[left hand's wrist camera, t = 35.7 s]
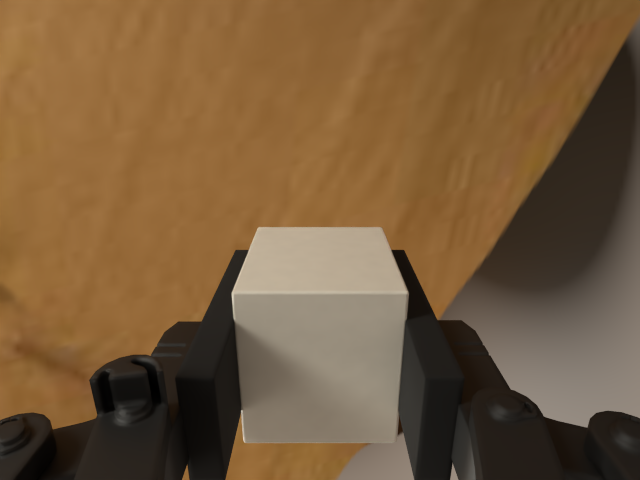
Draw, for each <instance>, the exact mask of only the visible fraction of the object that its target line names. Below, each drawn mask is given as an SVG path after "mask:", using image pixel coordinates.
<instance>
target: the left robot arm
mask: <svg viewBox="0 0 640 480" xmlns="http://www.w3.org/2000/svg"><path fill="white" fill-rule="evenodd" d="M248 251H249V250H236V251H235V253H234V255H233V257H232V259H231V261H230V263H229V265H228V267H227V270H226V272H225V274H224V276H223V278H222V280H221V282H220V284H219V286H218V288H217V291H216V293H215V295H214V297H213V299H212V301H211V303H210V305H209V307H208V310H207V312H206V314H205V316H204V318H203V320H202V322H177V323H176V324H175V325H173V326H172V327H171V328H169V329H168V330H167V331H166V332H164V334H163V336H162V337H161V339H160V341H159V342H158V344H157V347H155V349H154V351H153V352H152V354H151V356H148V355H130V356H126V357H121V358H118V359H116V360H114V361H111V362H109V363H107V364H105V365H104V366H102V367H101V368H100V369H98V370H97V371H96V372H95V373H94V374H93V376H92V377H91V379H90V380H89V381H90V385H91V389H92V394H93V398H94V402H95V407H96V411H97V417H96V419H93V420H90V421H87V422H83V423H79V424H75V425H71V426H66V427H62V428H58V429H52V426H51V422H50V420H49V419H48V418H47V417H46V416H45V415H42V414H37V413H25V414H17V415H14V416H11V417H8V418H5V419H2V420H0V480H182V478H183V475H184V472H185V469H186V466H187V465H188V471H189V478H190V480H225V479H226V474H227V470H228V466H229V461H230V457H231V453H232V448H233V444H234V440H235V436H236V431H237V427H238V423H239V418H240V414H241V399H240V387H239V375H238V362H237V350H236V337H235V325H234V317H233V305H232V291H233V289H234V286H235V284H236V281H237V279H238V276H239V274H240V271H241V269H242V266H243V264H244V261H245V259H246V256H247V254H248ZM391 251H392V253H393V256H394V258H395V260H396V263H397V265H398V268H399V270H400V273H401V275H402V278H403V280H404V282H405V285H406V287H407V290H408V292H409V298H408V311H407V319H406V322H405V334H404V347H403V359H402V371H401V384H400V396H399V409H398V411H399V415H400V420H401V424H402V428H403V433H404V437H405V441H406V445H407V450H408V454H409V458H410V463H411V467H412V471H413V476H414V480H450V476H451V469H452V462H453V465H454V468H455V471H456V473H457V476H458V479H459V480H640V418H638V417H635V416H632V415H628V414H625V413H622V412H614V411H604V412H599V413H596V414H595V415H594V416H592V417H591V418H590V421H589V424H588V428H585V427H581V426H577V425H573V424H568V423H564V422H559V421H556V420H552V419H549V418H546V417H544V416H543V414H542V413H541V411H540V409H539V408H538V406H537V405H536V404H535V403H534V402H532V401H531V400H530V399H529V398H528V397H526V396H524V395H522V394H520V393H518V392H516V391H514V390H511V389H510V388H509V386H508V384H507V383H506V381H505V379H504V378H503V376H502V374H501V373H500V371H499V369H498V368H497V366H496V364H495V363H494V361H493V360H492V358H491V356H489V353H488V351H487V350H486V348H485V346H484V345H483V343H482V341H481V340H480V338H479V336H478V335H477V333H476V331H475V330H473V329H472V328H471V327H469V326H468V325H467V324H465V323H464V322H463V321H461V320H437V319H436V317H435V314H434V312H433V310H432V308H431V306H430V304H429V302H428V300H427V298H426V295H425V293H424V291H423V289H422V287H421V285H420V283H419V281H418V279H417V277H416V274H415V272H414V270H413V268H412V266H411V264H410V262H409V260H408V258H407V255H406V253H405V251H404V250H391Z"/></svg>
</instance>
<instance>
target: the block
mask: <svg viewBox="0 0 640 480" xmlns="http://www.w3.org/2000/svg"><path fill="white" fill-rule="evenodd" d="M408 298H409V292H408V290H407V287H406V285H405V282H404V280H403V278H402V275H401V273H400V270H399V268H398V265H397V263H396V260H395V258H394V256H393V253H392V251H391V248H390V246H389V243H388V241H387V239H386V236H385V234H384V231H383V229H382V228H381V227H259V228H258V229H257V231H256V234H255V236H254V239H253V241H252V244H251V246H250V249H249V251H248V254H247V256H246V259H245V261H244V264H243V266H242V269H241V271H240V274H239V276H238V279H237V281H236V284H235V286H234V289H233V291H232V305H233V317H234V325H235V337H236V350H237V362H238V375H239V387H240V399H241V416H242V429H243V440H244V442H245V443H395V442H396V441H397V432H398V420H399V411H398V409H399V396H400V384H401V371H402V359H403V347H404V334H405V322H406V319H407V311H408Z"/></svg>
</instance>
